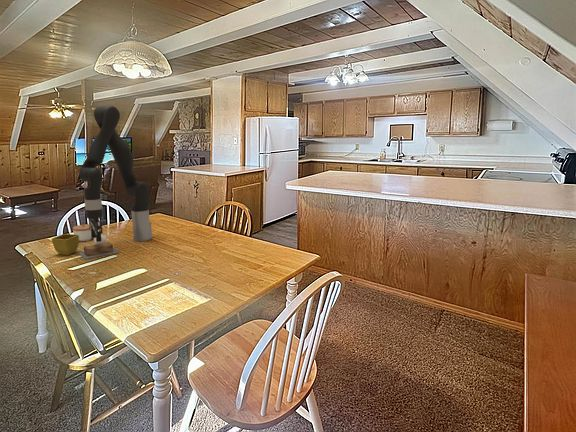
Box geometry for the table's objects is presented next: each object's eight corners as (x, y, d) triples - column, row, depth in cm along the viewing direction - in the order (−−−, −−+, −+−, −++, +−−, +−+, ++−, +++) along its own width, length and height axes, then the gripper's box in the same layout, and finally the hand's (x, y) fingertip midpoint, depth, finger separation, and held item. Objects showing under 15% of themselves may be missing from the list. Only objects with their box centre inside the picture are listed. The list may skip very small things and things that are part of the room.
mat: (111, 247, 198) (111, 246, 198) (119, 252, 189) (119, 252, 189) (78, 253, 187) (78, 252, 187) (85, 259, 178) (84, 258, 178)
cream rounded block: (105, 244, 203) (103, 233, 201) (108, 246, 198) (107, 236, 197) (93, 246, 199) (92, 235, 197) (96, 249, 194) (95, 238, 193)
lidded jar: (89, 236, 218) (87, 220, 215) (99, 239, 211) (97, 223, 209) (70, 240, 209) (68, 224, 207) (79, 243, 203) (77, 227, 201)
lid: (109, 248, 194) (108, 242, 193) (113, 251, 190) (112, 244, 189) (84, 253, 186) (83, 246, 185) (87, 256, 182) (86, 249, 181)
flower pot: (68, 257, 182) (66, 239, 180) (53, 255, 184) (50, 238, 182) (81, 251, 190) (79, 234, 188) (66, 250, 192) (64, 233, 190)
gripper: (106, 209, 180) (108, 241, 183) (97, 205, 190) (100, 235, 194) (89, 211, 175) (92, 244, 178) (81, 206, 185) (84, 237, 189)
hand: (96, 239), depth 186 cm, fingers open, 8 cm apart
